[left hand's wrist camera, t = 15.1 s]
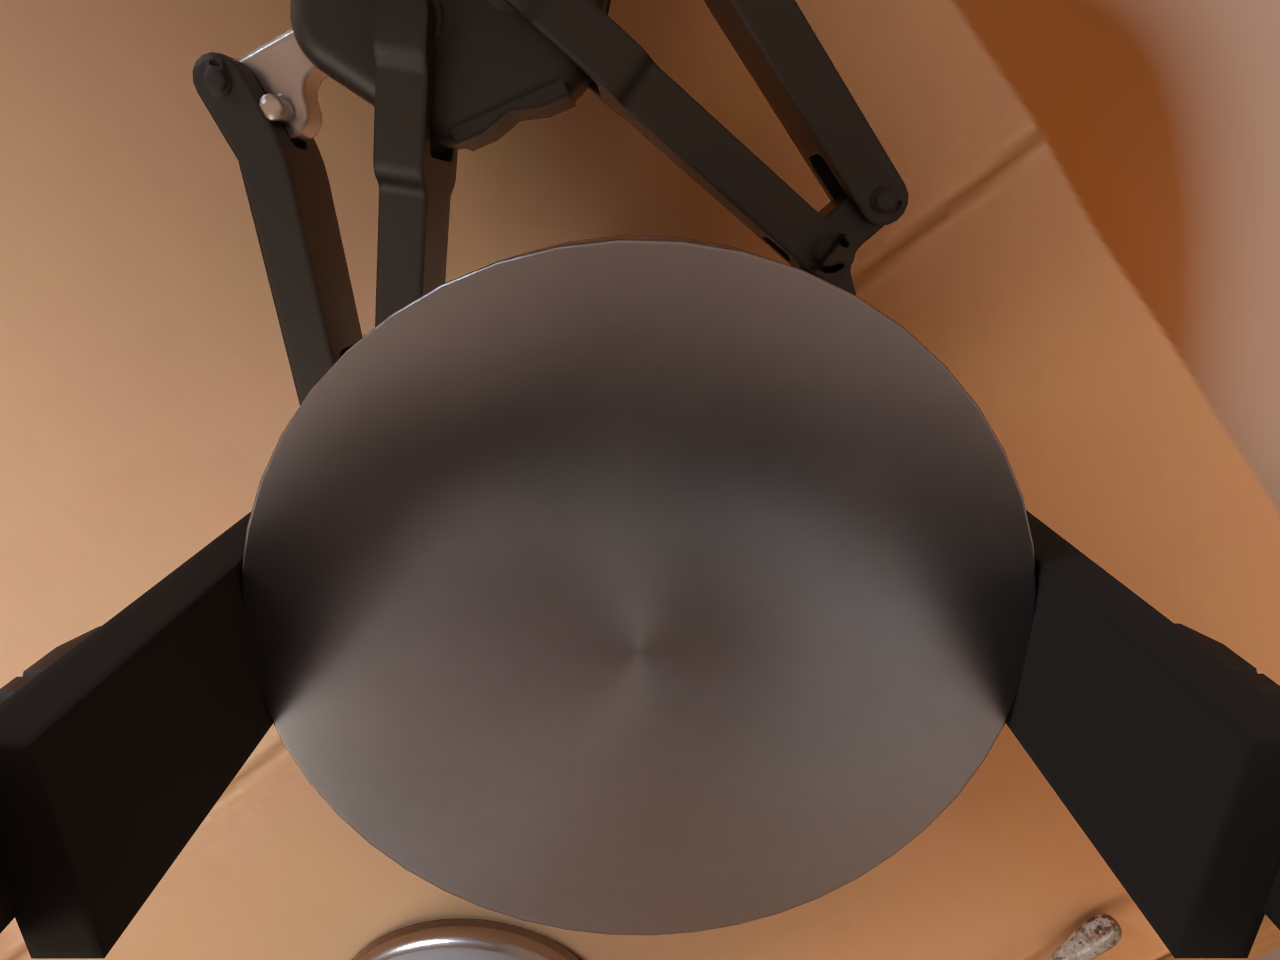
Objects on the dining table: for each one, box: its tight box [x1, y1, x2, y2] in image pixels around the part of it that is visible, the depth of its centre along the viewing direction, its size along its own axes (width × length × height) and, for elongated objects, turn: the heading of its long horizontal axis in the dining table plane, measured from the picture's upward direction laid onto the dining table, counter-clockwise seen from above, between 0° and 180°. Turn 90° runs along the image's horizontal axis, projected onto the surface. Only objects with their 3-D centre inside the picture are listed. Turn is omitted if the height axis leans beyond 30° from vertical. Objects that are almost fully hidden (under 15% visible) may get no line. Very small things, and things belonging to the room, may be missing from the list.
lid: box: [241, 236, 1037, 935], centre depth 11 cm, size 11×11×2 cm
